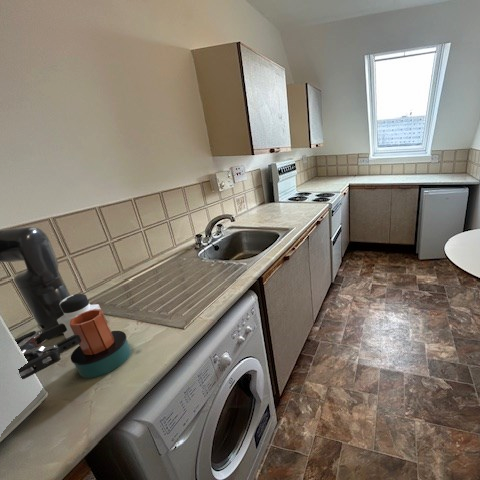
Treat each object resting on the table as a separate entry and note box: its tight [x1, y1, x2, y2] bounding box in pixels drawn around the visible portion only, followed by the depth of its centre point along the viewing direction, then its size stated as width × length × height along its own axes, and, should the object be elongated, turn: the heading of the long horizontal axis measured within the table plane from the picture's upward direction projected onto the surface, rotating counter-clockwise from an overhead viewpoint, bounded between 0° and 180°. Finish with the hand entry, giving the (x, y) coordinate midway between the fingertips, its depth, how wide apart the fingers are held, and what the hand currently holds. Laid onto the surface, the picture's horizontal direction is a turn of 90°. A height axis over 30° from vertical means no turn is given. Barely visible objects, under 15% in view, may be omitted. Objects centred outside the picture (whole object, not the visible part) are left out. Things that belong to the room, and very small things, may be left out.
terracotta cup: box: [70, 308, 114, 355], centre depth 67 cm, size 6×6×9 cm
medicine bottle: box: [57, 293, 101, 339], centre depth 80 cm, size 7×7×12 cm
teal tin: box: [70, 330, 132, 379], centre depth 69 cm, size 11×11×5 cm
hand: (72, 331), depth 63 cm, fingers open, 8 cm apart
